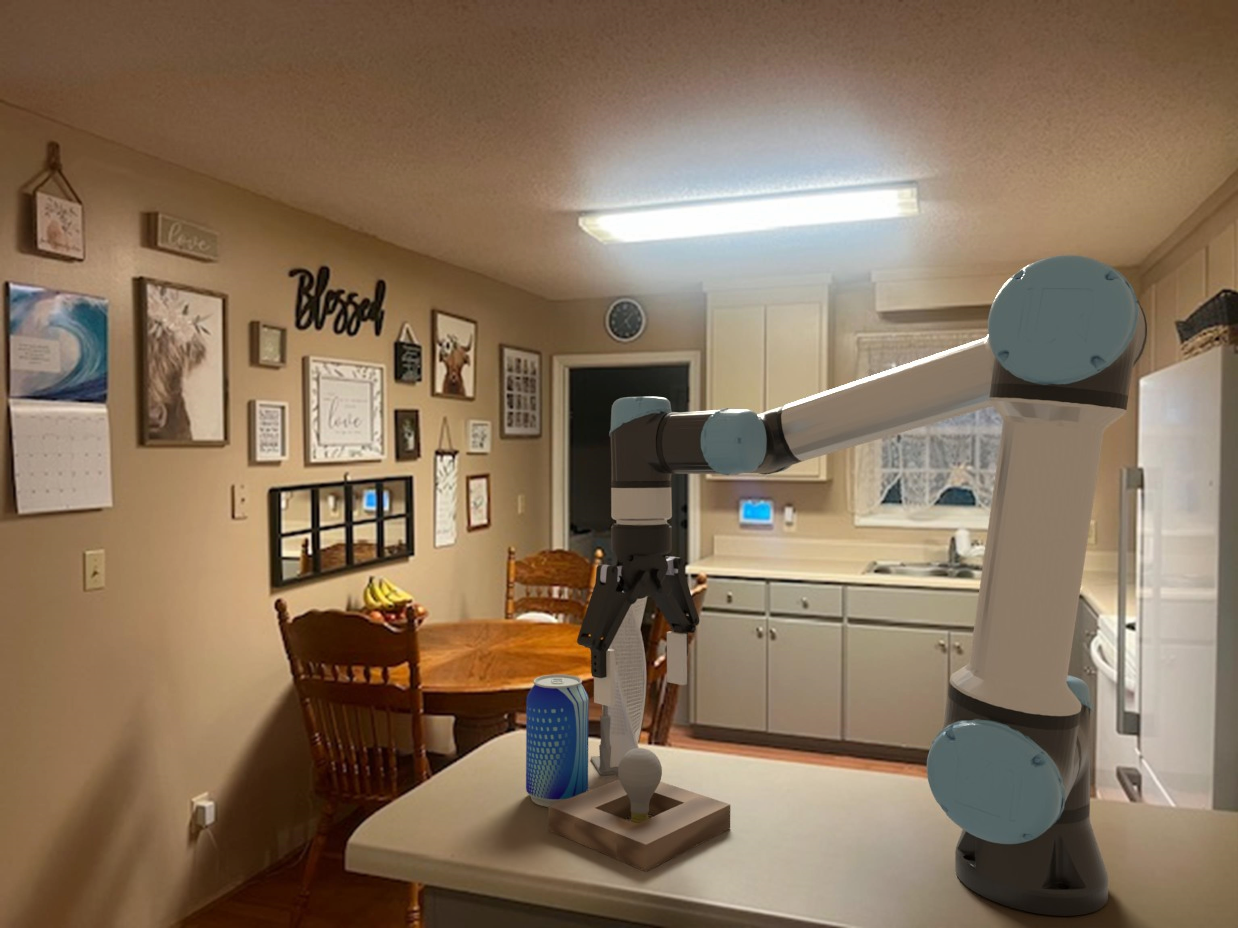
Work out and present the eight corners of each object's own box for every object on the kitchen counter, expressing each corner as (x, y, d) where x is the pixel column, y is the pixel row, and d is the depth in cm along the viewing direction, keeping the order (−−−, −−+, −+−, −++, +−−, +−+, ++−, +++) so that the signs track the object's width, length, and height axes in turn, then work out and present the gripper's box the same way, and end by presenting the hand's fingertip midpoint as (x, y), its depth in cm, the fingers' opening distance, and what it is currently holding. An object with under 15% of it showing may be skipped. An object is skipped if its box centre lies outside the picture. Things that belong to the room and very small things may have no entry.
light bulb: (657, 840, 106) (658, 757, 106) (613, 836, 108) (614, 754, 108) (664, 822, 112) (665, 743, 112) (622, 818, 113) (622, 740, 113)
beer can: (599, 794, 121) (600, 677, 121) (563, 814, 114) (564, 691, 114) (550, 782, 126) (551, 669, 126) (513, 800, 119) (513, 682, 119)
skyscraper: (588, 756, 137) (589, 575, 137) (639, 752, 139) (640, 574, 139) (600, 775, 129) (601, 583, 129) (654, 770, 130) (655, 581, 130)
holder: (730, 828, 110) (730, 804, 110) (645, 871, 98) (646, 844, 98) (634, 794, 121) (634, 772, 121) (548, 829, 109) (548, 805, 109)
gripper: (680, 516, 121) (681, 671, 121) (546, 525, 103) (547, 707, 103) (725, 518, 116) (726, 679, 116) (592, 528, 98) (593, 719, 98)
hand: (642, 693), depth 109 cm, fingers open, 13 cm apart
